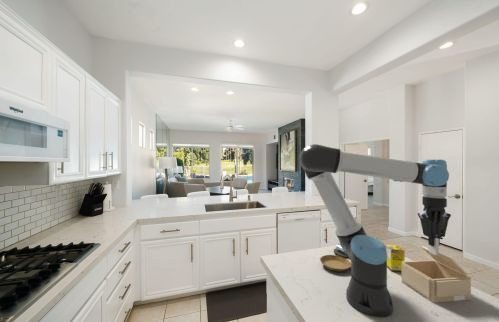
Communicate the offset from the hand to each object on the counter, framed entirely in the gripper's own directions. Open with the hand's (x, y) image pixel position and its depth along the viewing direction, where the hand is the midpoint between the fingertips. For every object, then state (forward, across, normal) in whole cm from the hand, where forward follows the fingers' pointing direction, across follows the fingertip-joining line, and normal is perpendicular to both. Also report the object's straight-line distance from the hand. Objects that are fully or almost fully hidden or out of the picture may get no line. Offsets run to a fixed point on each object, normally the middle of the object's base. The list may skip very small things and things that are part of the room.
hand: (434, 253), depth 84 cm
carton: (+16, 0, 0) cm, 16 cm away
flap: (+6, +8, 0) cm, 9 cm away
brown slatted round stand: (+16, -17, +38) cm, 44 cm away
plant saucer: (+16, -30, +24) cm, 42 cm away
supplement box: (+16, -2, +18) cm, 24 cm away
